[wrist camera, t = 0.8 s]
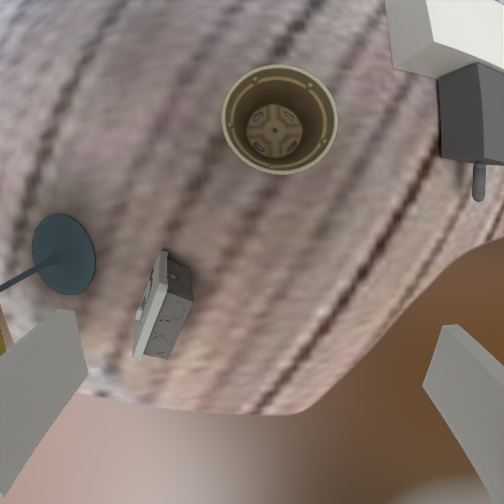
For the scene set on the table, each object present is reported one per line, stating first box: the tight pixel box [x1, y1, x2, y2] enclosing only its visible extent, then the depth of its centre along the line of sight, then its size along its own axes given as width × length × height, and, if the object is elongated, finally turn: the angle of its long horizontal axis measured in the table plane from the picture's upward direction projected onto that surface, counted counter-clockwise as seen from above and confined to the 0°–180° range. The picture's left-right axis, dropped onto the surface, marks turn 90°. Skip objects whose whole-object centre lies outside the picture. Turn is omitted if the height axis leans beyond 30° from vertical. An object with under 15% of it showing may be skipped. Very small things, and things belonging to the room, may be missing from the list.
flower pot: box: [221, 64, 338, 175], centre depth 27 cm, size 9×9×9 cm
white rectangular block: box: [385, 0, 504, 79], centre depth 23 cm, size 10×18×10 cm, turn 90°
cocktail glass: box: [0, 215, 95, 356], centre depth 23 cm, size 18×18×25 cm
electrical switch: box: [132, 250, 193, 361], centre depth 32 cm, size 9×5×9 cm, turn 154°
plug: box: [438, 63, 504, 202], centre depth 25 cm, size 20×6×8 cm, turn 0°
